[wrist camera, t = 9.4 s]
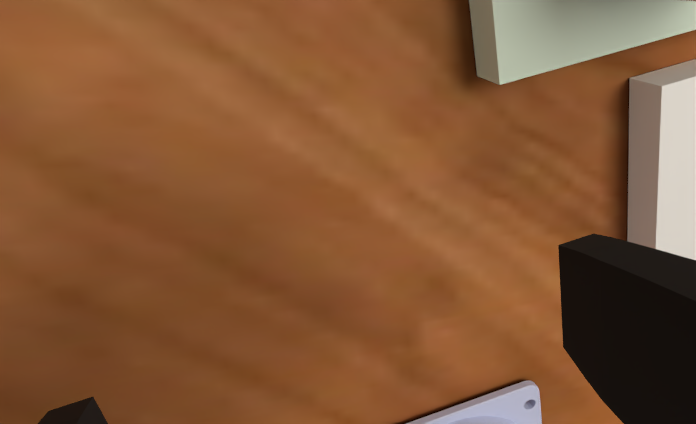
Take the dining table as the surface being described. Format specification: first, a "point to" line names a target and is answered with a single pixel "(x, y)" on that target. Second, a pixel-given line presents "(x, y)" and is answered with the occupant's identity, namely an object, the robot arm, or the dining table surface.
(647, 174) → the stand
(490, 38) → the stand
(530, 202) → the dining table surface
